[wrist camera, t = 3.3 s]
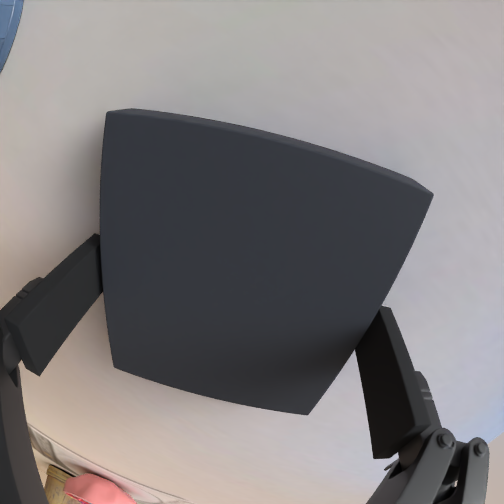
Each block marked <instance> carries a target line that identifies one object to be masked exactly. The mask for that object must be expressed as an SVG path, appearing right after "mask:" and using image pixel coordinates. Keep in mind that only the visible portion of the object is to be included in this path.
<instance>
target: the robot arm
mask: <svg viewBox="0 0 504 504" xmlns="http://www.w3.org/2000/svg"><path fill="white" fill-rule="evenodd" d="M102 292H103V283H102V269H101V251H100V235H98V234H93V235H92V236H91V237H90V238H89V239H87V240H86V241H85V242H84V243H83V244H82V245H80V246H79V247H78V248H77V249H76V250H75V251H73V252H72V253H71V254H70V255H69V256H68V257H67V258H65V259H64V260H63V261H62V262H61V263H60V264H59V265H58V266H57V267H55V268H54V269H53V270H52V271H51V272H50V273H49V274H48V275H47V276H46V277H45V278H44V279H43V278H40V277H38V278H36V279H34V280H32V281H30V282H29V283H28V284H27V285H25V286H24V287H23V288H22V290H20V291H19V292H18V293H17V294H16V296H14V297H13V298H12V299H11V300H10V301H9V302H8V303H7V304H6V305H5V306H4V307H3V308H2V309H1V310H0V504H49V502H48V499H47V497H46V494H45V491H44V488H43V485H42V482H41V479H40V475H39V472H38V469H37V465H36V461H35V458H34V454H33V450H32V446H31V441H30V437H29V432H28V427H27V422H26V416H25V410H24V404H23V397H22V389H21V379H20V370H19V366H18V363H19V362H20V361H21V359H22V361H23V363H24V365H25V367H26V369H28V370H30V371H31V372H33V373H35V374H36V375H38V376H40V375H41V374H42V372H43V371H44V369H45V368H46V366H47V365H48V363H49V362H50V361H51V359H52V358H53V356H54V355H55V353H56V352H57V351H58V349H59V348H60V347H61V345H62V344H63V342H64V341H65V340H66V338H67V337H68V336H69V334H70V333H71V332H72V330H73V329H74V328H75V326H76V325H77V324H78V322H79V321H80V320H81V318H82V317H83V316H84V315H85V313H86V312H87V311H88V309H89V308H90V307H91V306H92V304H93V303H94V302H95V301H96V299H97V298H98V297H99V296H100V294H101V293H102ZM355 352H356V357H357V362H358V367H359V372H360V377H361V382H362V388H363V393H364V399H365V405H366V411H367V417H368V423H369V430H370V437H371V444H372V451H373V459H385V458H390V457H392V456H393V455H394V454H396V453H397V452H398V455H399V459H397V460H396V461H394V462H393V463H391V464H390V465H388V466H387V467H386V468H385V469H384V470H385V471H386V470H388V469H389V468H391V469H390V470H389V472H388V473H387V475H386V476H385V478H384V479H383V481H382V482H381V484H380V485H379V486H378V488H377V489H376V491H375V492H374V493H373V495H372V496H371V498H370V499H369V500H368V502H367V503H366V504H485V498H486V489H487V480H488V467H489V448H488V445H487V443H486V442H485V441H484V440H483V439H481V438H478V437H476V438H473V439H472V440H471V441H469V442H468V443H463V442H460V441H456V440H455V437H454V435H453V434H452V433H451V432H450V431H449V430H448V429H446V428H442V426H441V423H440V420H439V417H438V413H437V410H436V407H435V404H434V401H433V400H432V395H431V392H429V391H430V389H429V386H428V383H427V381H426V379H425V378H424V376H423V375H422V374H421V372H420V371H415V370H414V367H413V364H412V362H411V359H410V356H409V353H408V351H407V348H406V345H405V343H404V340H403V337H402V335H401V332H400V330H399V327H398V325H397V322H396V320H395V317H394V315H393V313H392V310H391V308H389V307H384V306H381V307H380V308H379V310H378V312H377V314H376V315H375V317H374V319H373V320H372V322H371V324H370V326H369V327H368V329H367V330H366V332H365V334H364V335H363V337H362V339H361V340H360V342H359V343H358V345H357V347H356V348H355ZM457 480H458V482H457V486H456V487H454V484H455V481H457Z"/></svg>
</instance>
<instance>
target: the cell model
mask: <svg viewBox="0 0 504 504" xmlns="http://www.w3.org/2000/svg"><path fill="white" fill-rule="evenodd" d="M62 492H64V493H65V494H67V495H68V496H70V497H71V498H73V499H75V500H77V501H79V502H81V503H82V504H137V503H136V501H135V500H134V499H133V498H132V497H131V496H130V495H129V494H128V493H126V492H125V491H124V490H122V489H121V488H119V487H118V486H117V485H116V484H114V483H113V482H111V481H109V480H107V479H104V478H102V477H100V476H98V475H95V474H90V473H87V474H83V475H80V476H77V477H71V478H68V479H66V481H65V484H64V487H63V491H62Z"/></svg>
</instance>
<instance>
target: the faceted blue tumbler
mask: <svg viewBox="0 0 504 504" xmlns="http://www.w3.org/2000/svg"><path fill="white" fill-rule="evenodd" d="M22 7H23V0H0V72H1V70H2V68H3V66H4V64H5V61H6V59H7V57H8V54H9V52H10V49H11V46H12V44H13V41H14V38H15V35H16V31H17V28H18V24H19V21H20V16H21V12H22Z"/></svg>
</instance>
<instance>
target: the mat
mask: <svg viewBox="0 0 504 504" xmlns="http://www.w3.org/2000/svg"><path fill="white" fill-rule="evenodd" d="M432 198H433V193H432V192H430V191H429V190H428V189H426V188H425V187H423V186H422V185H421V184H419V183H418V182H416V181H415V180H413V179H411V178H409V177H406V176H404V175H401V174H399V173H396V172H394V171H391V170H388V169H386V168H383V167H380V166H378V165H375V164H372V163H370V162H367V161H364V160H361V159H358V158H355V157H352V156H349V155H346V154H343V153H340V152H337V151H334V150H331V149H328V148H325V147H321V146H318V145H315V144H311V143H308V142H304V141H301V140H297V139H293V138H290V137H286V136H282V135H278V134H274V133H270V132H266V131H262V130H258V129H254V128H249V127H245V126H240V125H235V124H231V123H226V122H221V121H215V120H210V119H204V118H199V117H193V116H187V115H180V114H173V113H166V112H159V111H151V110H142V109H123V110H115V111H108V112H107V113H106V120H105V128H104V138H103V149H102V162H101V180H100V251H101V269H102V283H103V294H104V304H105V313H106V321H107V328H108V335H109V342H110V348H111V354H112V360H113V365H114V368H117V369H119V370H122V371H125V372H128V373H130V374H133V375H136V376H139V377H142V378H145V379H148V380H151V381H154V382H157V383H160V384H163V385H167V386H170V387H173V388H177V389H180V390H184V391H187V392H191V393H195V394H198V395H202V396H206V397H210V398H214V399H218V400H223V401H227V402H232V403H236V404H241V405H246V406H251V407H256V408H262V409H268V410H274V411H280V412H286V413H293V414H301V415H308V414H309V413H310V412H311V411H312V409H313V408H314V407H315V405H316V404H317V403H318V401H319V400H320V399H321V397H322V396H323V395H324V393H325V392H326V391H327V389H328V388H329V386H330V385H331V384H332V382H333V381H334V379H335V378H336V377H337V375H338V374H339V372H340V371H341V369H342V368H343V366H344V365H345V363H346V362H347V360H348V359H349V357H350V356H351V354H352V353H353V351H354V350H355V348H356V347H357V345H358V343H359V342H360V340H361V339H362V337H363V335H364V334H365V332H366V330H367V329H368V327H369V326H370V324H371V322H372V320H373V319H374V317H375V315H376V314H377V312H378V310H379V308H380V307H381V305H382V303H383V301H384V300H385V298H386V296H387V294H388V292H389V290H390V289H391V287H392V285H393V283H394V281H395V279H396V277H397V275H398V273H399V271H400V269H401V267H402V265H403V263H404V261H405V259H406V257H407V255H408V253H409V251H410V249H411V247H412V245H413V243H414V240H415V238H416V236H417V234H418V232H419V229H420V227H421V225H422V222H423V220H424V218H425V215H426V213H427V211H428V208H429V206H430V203H431V201H432Z"/></svg>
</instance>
